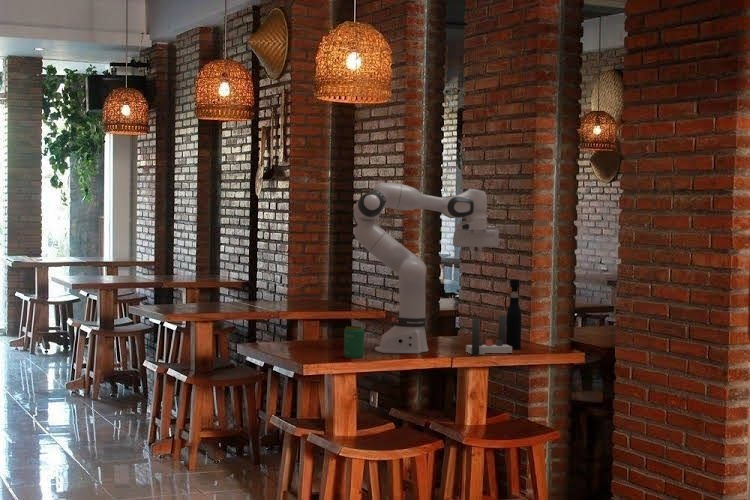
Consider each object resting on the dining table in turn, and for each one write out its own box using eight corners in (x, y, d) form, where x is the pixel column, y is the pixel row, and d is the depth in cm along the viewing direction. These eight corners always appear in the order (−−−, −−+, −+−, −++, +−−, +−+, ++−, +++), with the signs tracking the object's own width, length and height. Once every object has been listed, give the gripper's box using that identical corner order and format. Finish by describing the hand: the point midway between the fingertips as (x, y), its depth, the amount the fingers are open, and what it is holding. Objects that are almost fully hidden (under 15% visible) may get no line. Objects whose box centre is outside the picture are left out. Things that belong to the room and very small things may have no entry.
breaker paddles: (476, 346, 442) (476, 340, 442) (475, 345, 443) (475, 339, 443) (502, 345, 445) (502, 340, 444) (501, 345, 446) (501, 339, 446)
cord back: (499, 351, 451) (500, 315, 450) (497, 350, 454) (497, 315, 453) (506, 350, 451) (506, 315, 451) (503, 350, 454) (504, 315, 454)
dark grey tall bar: (473, 356, 434) (473, 319, 434) (470, 355, 437) (471, 318, 437) (480, 356, 435) (480, 319, 434) (477, 354, 438) (478, 318, 437)
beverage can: (367, 357, 425) (368, 327, 424) (351, 359, 420) (351, 328, 420) (356, 355, 431) (356, 325, 431) (340, 356, 427) (340, 326, 426)
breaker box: (470, 354, 439) (471, 347, 439) (465, 352, 446) (466, 345, 445) (512, 353, 443) (512, 346, 442) (506, 351, 449) (506, 344, 449)
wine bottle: (520, 350, 455) (521, 280, 454) (505, 349, 456) (506, 279, 455) (521, 348, 461) (522, 279, 460) (506, 347, 463) (507, 279, 461)
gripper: (496, 225, 464) (496, 257, 465) (452, 225, 460) (451, 257, 461) (501, 226, 458) (500, 258, 459) (456, 225, 454) (455, 257, 454)
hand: (475, 257), depth 460 cm, fingers closed
